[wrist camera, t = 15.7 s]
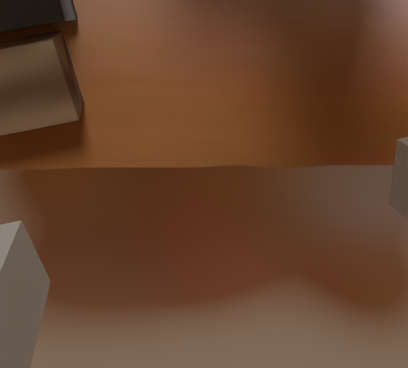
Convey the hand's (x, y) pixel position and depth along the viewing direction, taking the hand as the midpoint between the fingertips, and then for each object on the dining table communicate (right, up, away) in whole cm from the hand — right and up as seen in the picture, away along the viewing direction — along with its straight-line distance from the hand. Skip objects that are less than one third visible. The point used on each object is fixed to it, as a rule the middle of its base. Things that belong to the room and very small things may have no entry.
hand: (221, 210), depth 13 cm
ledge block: (-21, +13, +29) cm, 38 cm away
